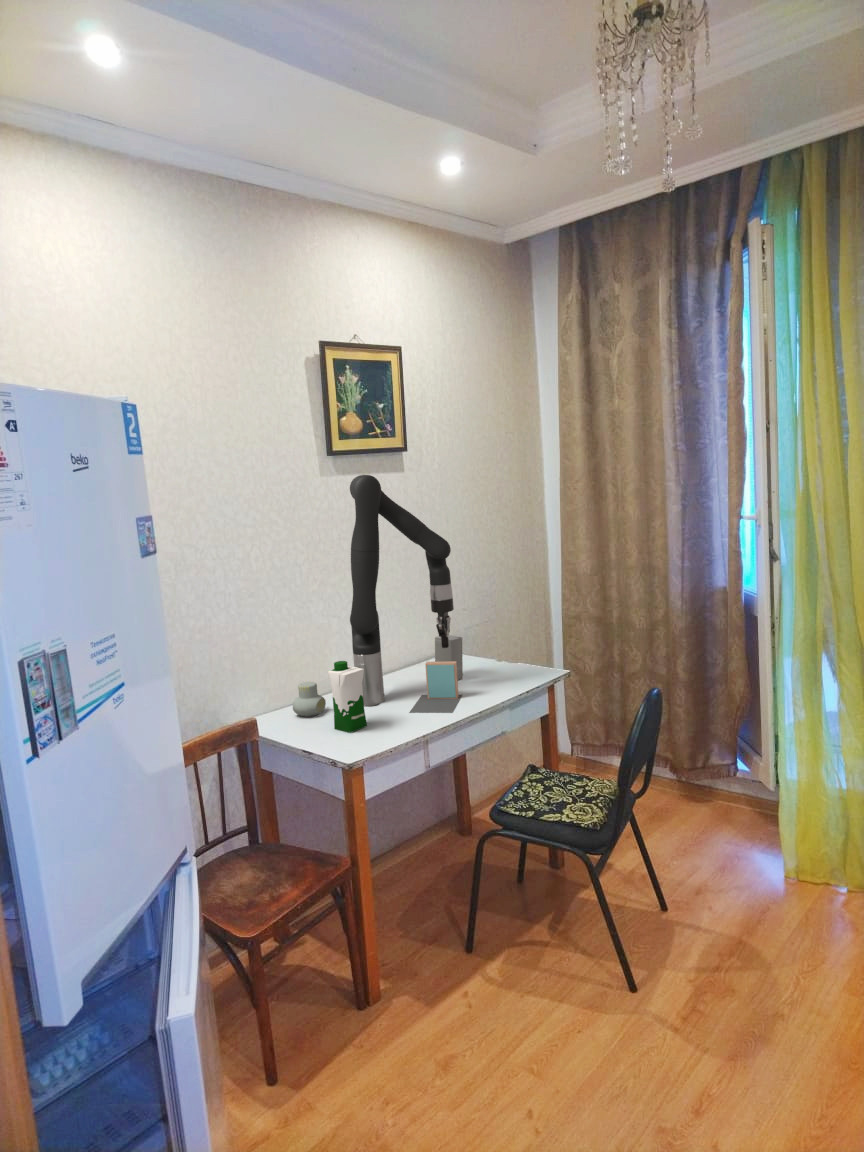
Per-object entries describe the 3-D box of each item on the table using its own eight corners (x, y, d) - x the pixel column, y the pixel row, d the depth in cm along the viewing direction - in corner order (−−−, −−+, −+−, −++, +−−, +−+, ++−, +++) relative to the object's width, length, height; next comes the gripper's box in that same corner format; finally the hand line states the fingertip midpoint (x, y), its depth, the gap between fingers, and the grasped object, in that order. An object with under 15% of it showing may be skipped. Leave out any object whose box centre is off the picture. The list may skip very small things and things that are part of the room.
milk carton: (351, 721, 235) (346, 658, 232) (371, 726, 229) (366, 661, 227) (329, 729, 229) (324, 665, 226) (350, 734, 223) (345, 668, 220)
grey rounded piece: (314, 719, 239) (311, 689, 238) (290, 719, 241) (287, 688, 240) (328, 708, 249) (326, 679, 248) (305, 708, 252) (303, 679, 250)
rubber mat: (409, 713, 238) (409, 712, 238) (422, 695, 257) (422, 694, 257) (452, 714, 235) (452, 712, 235) (462, 695, 254) (462, 694, 254)
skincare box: (434, 680, 275) (432, 637, 273) (447, 675, 280) (444, 633, 278) (452, 683, 269) (450, 639, 267) (465, 678, 275) (462, 635, 273)
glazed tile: (427, 699, 251) (425, 663, 250) (429, 696, 254) (426, 661, 252) (457, 698, 249) (455, 663, 248) (458, 696, 252) (456, 661, 250)
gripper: (434, 594, 263) (438, 643, 265) (426, 601, 250) (430, 652, 252) (455, 593, 261) (459, 642, 263) (448, 600, 248) (452, 651, 251)
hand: (445, 647), depth 258 cm, fingers closed
